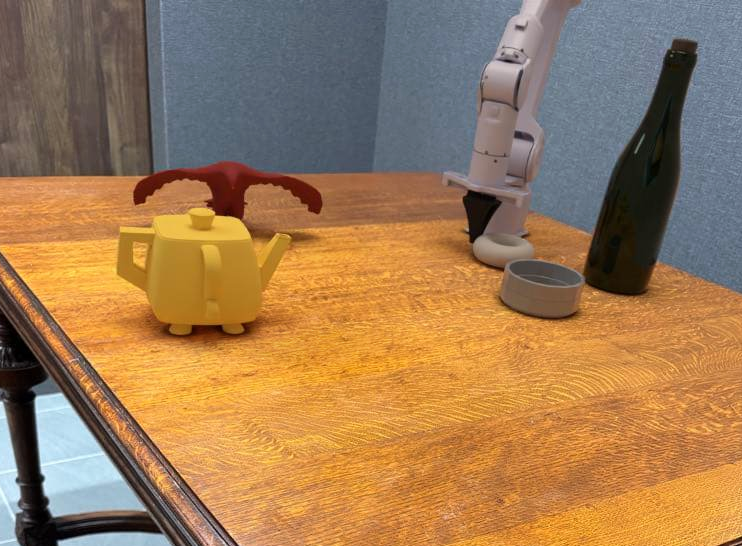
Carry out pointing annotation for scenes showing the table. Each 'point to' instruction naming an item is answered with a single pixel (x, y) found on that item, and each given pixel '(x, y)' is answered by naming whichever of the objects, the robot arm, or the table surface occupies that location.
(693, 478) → the table surface
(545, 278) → the pan
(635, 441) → the table surface
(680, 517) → the table surface
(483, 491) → the table surface
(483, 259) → the donut
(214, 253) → the teapot
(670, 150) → the wine bottle
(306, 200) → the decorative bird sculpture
